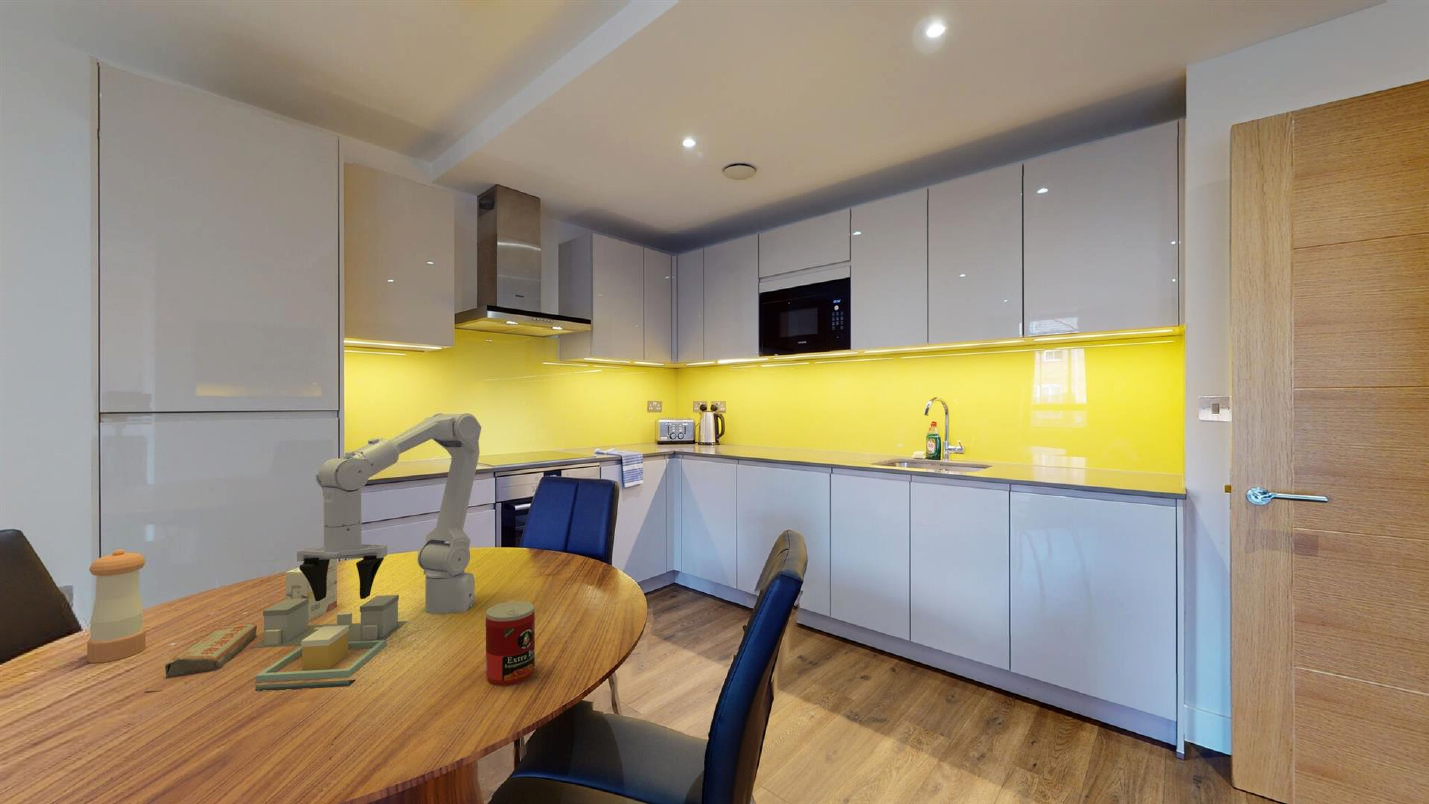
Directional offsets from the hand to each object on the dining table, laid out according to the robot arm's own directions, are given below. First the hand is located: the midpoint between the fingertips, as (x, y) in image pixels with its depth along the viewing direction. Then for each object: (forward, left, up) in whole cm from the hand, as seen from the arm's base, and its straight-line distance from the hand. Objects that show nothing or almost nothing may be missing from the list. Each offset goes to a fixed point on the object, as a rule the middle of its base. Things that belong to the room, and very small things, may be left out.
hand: (343, 598), depth 99 cm
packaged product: (+21, +1, -11) cm, 24 cm away
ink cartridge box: (+16, -19, -11) cm, 27 cm away
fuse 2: (-3, -7, -9) cm, 11 cm away
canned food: (-33, +11, -11) cm, 36 cm away
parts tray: (-1, +7, -10) cm, 12 cm away
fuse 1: (+14, -7, -9) cm, 18 cm away
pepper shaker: (+42, -6, -11) cm, 44 cm away
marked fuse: (-1, +6, -10) cm, 12 cm away
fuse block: (+5, -7, -10) cm, 13 cm away
